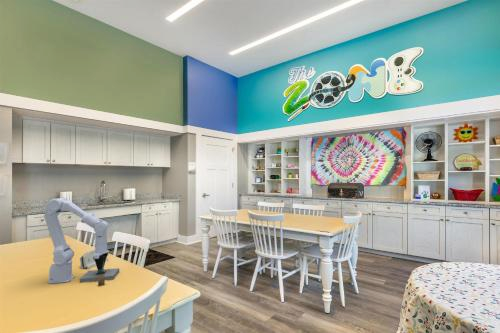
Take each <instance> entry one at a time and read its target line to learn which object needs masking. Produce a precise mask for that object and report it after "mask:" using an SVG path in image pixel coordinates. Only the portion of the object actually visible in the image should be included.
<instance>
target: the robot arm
mask: <svg viewBox="0 0 500 333" xmlns="http://www.w3.org/2000/svg"><path fill="white" fill-rule="evenodd" d="M63 211H67V212H68V211H69V212H70V213H72V214H74V215H76V216H77V217H79V218H81V220H82V222H83V223H84V224H85V225H87V226H89V227H90V228H92V229H93V231H94V232H95V237H94V239H95V240H94V242H95V244H94V250H95V255H94V257H93V259H94V261H95V263H96V266H95V267H96V270H99V269H102V267H103V261H104V266H105V265H106V262H105V261H106V258H108V257H107V256H109V253H110V250H108V229H109V226H110V225H109V222H108V221H106V220H103V219H102V218H99V217H98V216H96V214H95V213H91V212H89V213H88V212H86V211H85V210H83V209H82V208H80V207H79V206H78V205H76V204H74V202H73V201H71V200H69V199H67V198H66V197H58V198H52V199H50V200H48V202H47V203H46V204H45V211H44V215H43V217H44V221H45V224H46V227H47V230H48V232H49V233H48V234H49V235H50V238H51V241H52V244H53V247H54V249H53V252H52V254H53V258H52V259H53V264H51V265H50V266H49V270H48V282H47V284H50V285H51V284H58V283H60V284H62V283H69V282H70V281H71V280H73V279H74V278H75V277H76V276H75V275H73V258H74V256H75V251H74V250H73V249H72V248H71V245H70V244H68V243H67V242H66V237H65V235H64V232H63V229H62V227H61V226H62V225H61V223H60V220H59V217H58V216H59V215H60V214H61V213H62V212H63ZM102 255H104V256H102Z"/></svg>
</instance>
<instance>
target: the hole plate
mask: <svg viewBox="0 0 500 333" xmlns="http://www.w3.org/2000/svg"><path fill="white" fill-rule="evenodd" d="M119 272H120V268H118V267H117V268H105V269H104V274H100V275H105V281H112V280H114V279H115V278H116V277H117V275H118V274H119ZM100 275H98V269H95V270H94V269H92V270H87V272H85V273H84V274H83V275H82V276H81V277H80V278H79V283H80V284H81V283H82V284H83V283H91V282H98V276H100Z"/></svg>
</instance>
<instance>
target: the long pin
mask: <svg viewBox="0 0 500 333" xmlns="http://www.w3.org/2000/svg"><path fill="white" fill-rule="evenodd" d="M102 256H104V255H102ZM104 268H105V265H104V261H103V267H102V269H99V270H98V269H97V270H98V275H100V274H104Z"/></svg>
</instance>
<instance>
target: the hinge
mask: <svg viewBox="0 0 500 333" xmlns="http://www.w3.org/2000/svg"><path fill="white" fill-rule="evenodd" d="M94 255H95V249H92V250H90V251H87V252H85V253H84V254H83V255H81V256H80V257H79V262H80V267H81V270H83V269H85V268H87V270H90V269H93V268H95V267H97V266H96V263H95V261H94V259H93V257H94ZM106 261H107V262H108V261H109V259H108V257H107V258H106ZM106 261H105V263H106Z"/></svg>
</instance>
